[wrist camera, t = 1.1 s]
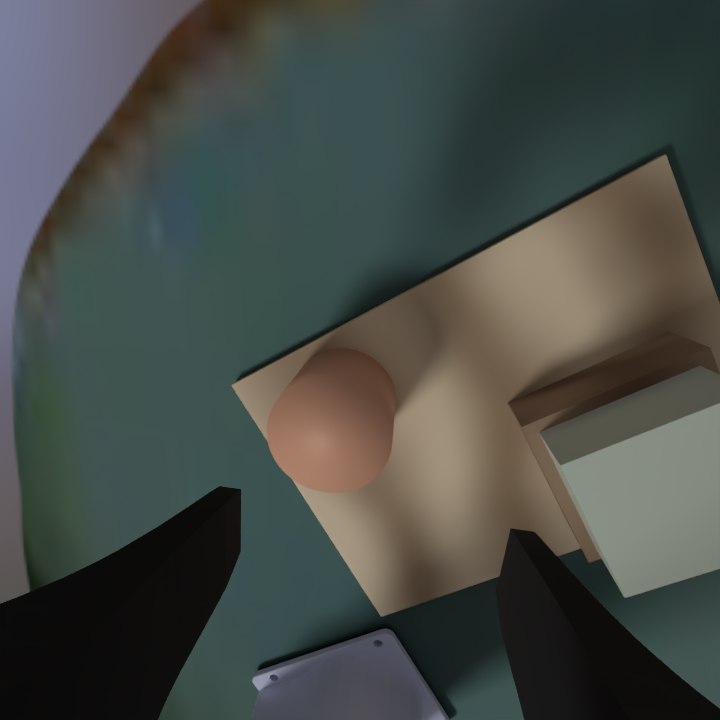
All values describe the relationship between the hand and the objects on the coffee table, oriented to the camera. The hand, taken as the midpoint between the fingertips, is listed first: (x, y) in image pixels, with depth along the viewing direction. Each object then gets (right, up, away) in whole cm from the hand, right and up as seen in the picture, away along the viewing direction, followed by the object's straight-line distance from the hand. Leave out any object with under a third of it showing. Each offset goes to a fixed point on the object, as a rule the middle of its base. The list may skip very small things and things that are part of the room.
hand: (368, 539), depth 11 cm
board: (+6, +2, +9) cm, 11 cm away
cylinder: (-1, +3, +9) cm, 9 cm away
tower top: (+11, +1, +5) cm, 12 cm away
